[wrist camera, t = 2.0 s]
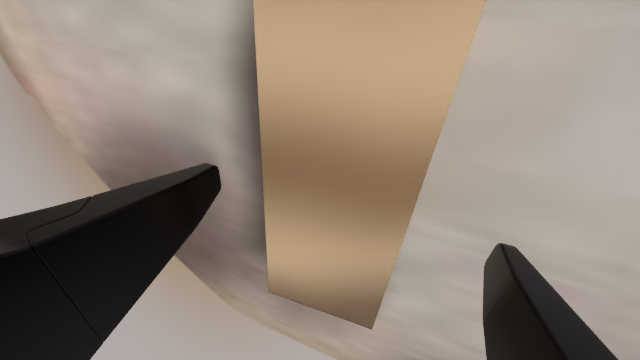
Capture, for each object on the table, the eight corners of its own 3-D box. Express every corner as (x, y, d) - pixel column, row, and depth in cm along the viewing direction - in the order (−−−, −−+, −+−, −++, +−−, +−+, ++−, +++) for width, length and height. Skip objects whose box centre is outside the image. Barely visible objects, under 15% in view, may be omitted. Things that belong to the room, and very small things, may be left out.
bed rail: (390, 232, 14) (371, 329, 10) (313, 210, 15) (268, 291, 11) (538, -251, 6) (730, -707, 2) (348, -236, 7) (224, -528, 3)
